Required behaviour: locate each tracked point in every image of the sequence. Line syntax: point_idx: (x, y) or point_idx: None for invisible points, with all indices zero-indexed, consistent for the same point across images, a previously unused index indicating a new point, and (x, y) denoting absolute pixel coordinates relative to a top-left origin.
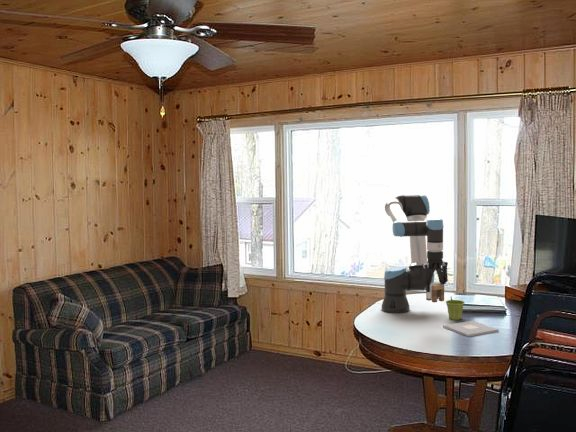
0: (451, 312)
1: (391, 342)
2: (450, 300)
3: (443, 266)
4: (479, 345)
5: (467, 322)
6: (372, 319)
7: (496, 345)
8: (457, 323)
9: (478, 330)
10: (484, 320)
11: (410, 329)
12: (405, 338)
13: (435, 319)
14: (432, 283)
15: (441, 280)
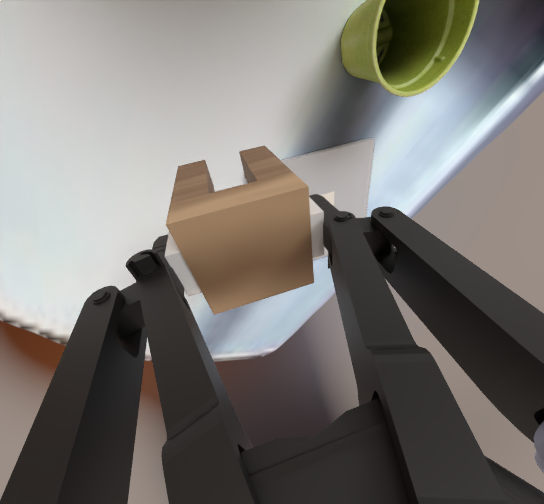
0: (355, 58)
1: (4, 294)
2: None
3: (536, 410)
4: (257, 317)
5: (345, 159)
6: None
7: (287, 317)
8: (308, 162)
9: None
10: (421, 125)
11: (97, 161)
12: (65, 264)
13: (275, 15)
14: (244, 223)
15: (332, 268)
